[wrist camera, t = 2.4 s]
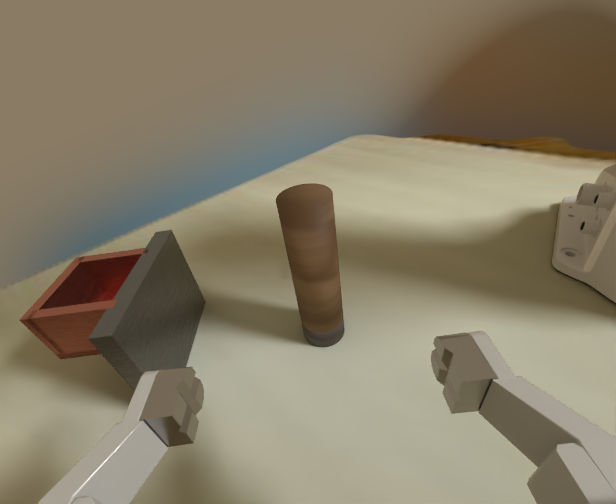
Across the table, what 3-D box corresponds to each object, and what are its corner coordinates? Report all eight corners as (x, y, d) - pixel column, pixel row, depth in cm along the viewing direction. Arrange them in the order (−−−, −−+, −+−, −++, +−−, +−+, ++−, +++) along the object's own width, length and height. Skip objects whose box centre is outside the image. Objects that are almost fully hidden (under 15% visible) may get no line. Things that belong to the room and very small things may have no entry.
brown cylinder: (313, 310, 31) (291, 182, 22) (349, 319, 29) (340, 185, 21) (297, 340, 28) (265, 207, 20) (336, 352, 27) (319, 213, 18)
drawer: (172, 410, 24) (111, 335, 19) (79, 421, 24) (-9, 351, 19) (205, 301, 34) (171, 230, 28) (137, 310, 34) (91, 241, 28)
